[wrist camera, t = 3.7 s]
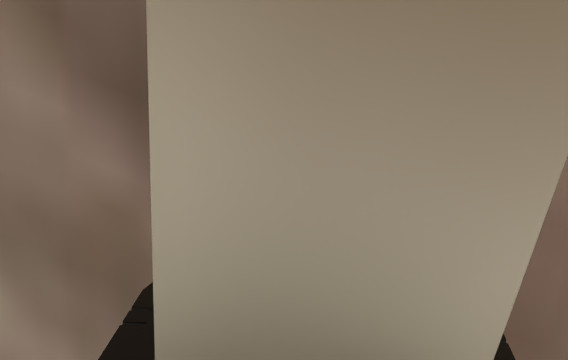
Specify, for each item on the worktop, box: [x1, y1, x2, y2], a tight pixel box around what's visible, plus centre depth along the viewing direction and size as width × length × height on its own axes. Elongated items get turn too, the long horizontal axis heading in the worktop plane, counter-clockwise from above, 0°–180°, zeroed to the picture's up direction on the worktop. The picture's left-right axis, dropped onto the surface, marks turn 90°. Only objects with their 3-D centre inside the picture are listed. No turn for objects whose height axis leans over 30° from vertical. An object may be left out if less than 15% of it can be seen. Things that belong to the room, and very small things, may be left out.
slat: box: [146, 0, 568, 360], centre depth 8 cm, size 14×4×5 cm, turn 175°
